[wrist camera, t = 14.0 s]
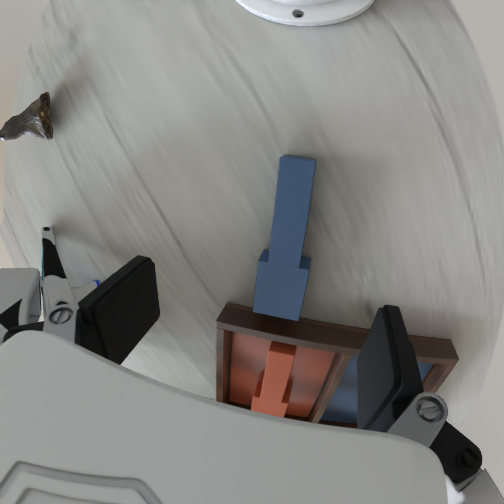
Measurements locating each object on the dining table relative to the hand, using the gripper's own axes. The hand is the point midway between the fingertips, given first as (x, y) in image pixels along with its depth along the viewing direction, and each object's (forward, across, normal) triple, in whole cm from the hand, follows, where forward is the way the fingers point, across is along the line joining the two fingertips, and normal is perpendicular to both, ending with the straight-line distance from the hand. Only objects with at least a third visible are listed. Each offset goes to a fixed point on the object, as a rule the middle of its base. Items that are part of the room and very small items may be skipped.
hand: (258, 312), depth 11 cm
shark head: (+13, +31, -9) cm, 35 cm away
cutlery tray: (+12, -7, +18) cm, 23 cm away
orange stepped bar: (+12, -1, +18) cm, 21 cm away
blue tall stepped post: (+12, 0, +2) cm, 13 cm away
